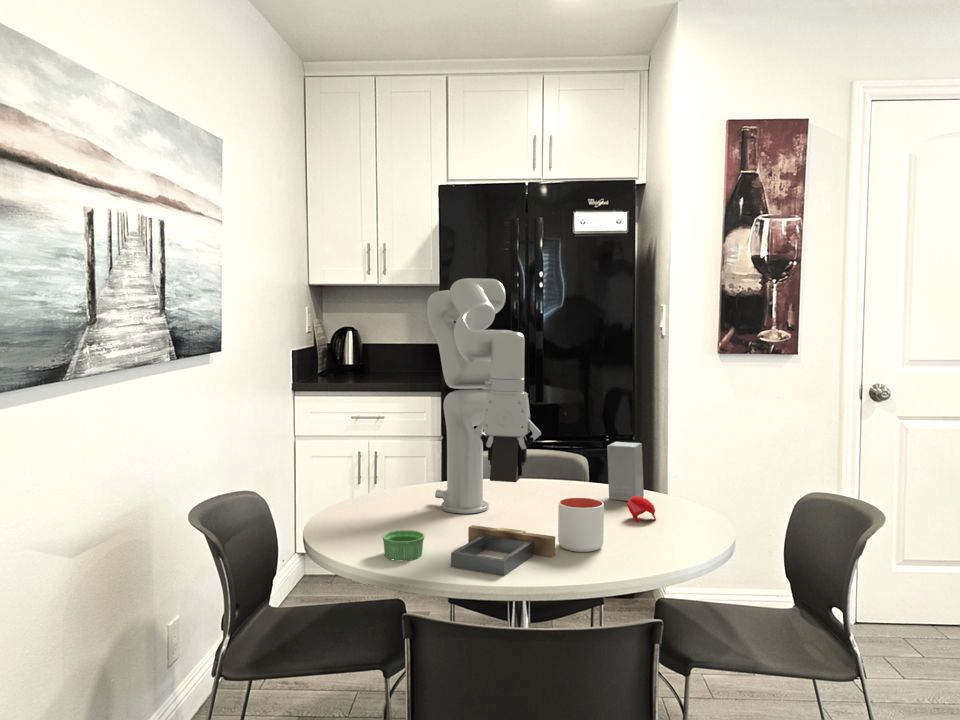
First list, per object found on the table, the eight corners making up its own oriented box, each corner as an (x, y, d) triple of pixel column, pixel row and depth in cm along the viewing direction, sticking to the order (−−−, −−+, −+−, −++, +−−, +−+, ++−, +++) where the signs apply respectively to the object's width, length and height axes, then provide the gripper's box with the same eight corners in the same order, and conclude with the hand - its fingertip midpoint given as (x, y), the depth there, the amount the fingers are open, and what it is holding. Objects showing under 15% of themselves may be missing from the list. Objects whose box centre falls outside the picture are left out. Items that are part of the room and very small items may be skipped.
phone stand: (515, 482, 175) (516, 429, 175) (489, 481, 177) (489, 427, 176) (523, 474, 184) (524, 423, 183) (498, 473, 186) (499, 422, 185)
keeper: (451, 567, 162) (451, 552, 162) (483, 547, 175) (483, 534, 175) (504, 575, 157) (504, 561, 156) (533, 555, 170) (533, 541, 170)
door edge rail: (468, 544, 177) (468, 525, 177) (472, 542, 179) (472, 523, 179) (551, 557, 169) (551, 537, 168) (555, 554, 170) (555, 534, 170)
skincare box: (644, 498, 222) (644, 442, 222) (634, 503, 216) (635, 446, 216) (615, 494, 227) (616, 440, 226) (605, 499, 221) (606, 443, 220)
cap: (627, 511, 195) (648, 499, 195) (621, 497, 201) (642, 486, 200) (641, 533, 198) (662, 521, 198) (635, 519, 204) (655, 508, 203)
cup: (592, 556, 169) (592, 510, 169) (550, 549, 175) (550, 504, 174) (610, 545, 178) (610, 501, 177) (570, 538, 183) (570, 495, 182)
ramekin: (389, 564, 164) (389, 543, 164) (377, 552, 172) (377, 532, 172) (430, 559, 168) (430, 538, 167) (416, 547, 176) (416, 528, 176)
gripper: (466, 386, 178) (466, 465, 179) (541, 388, 173) (540, 470, 174) (475, 383, 185) (475, 459, 186) (548, 385, 180) (547, 464, 182)
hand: (507, 464), depth 180 cm, fingers closed on phone stand, 6 cm apart
